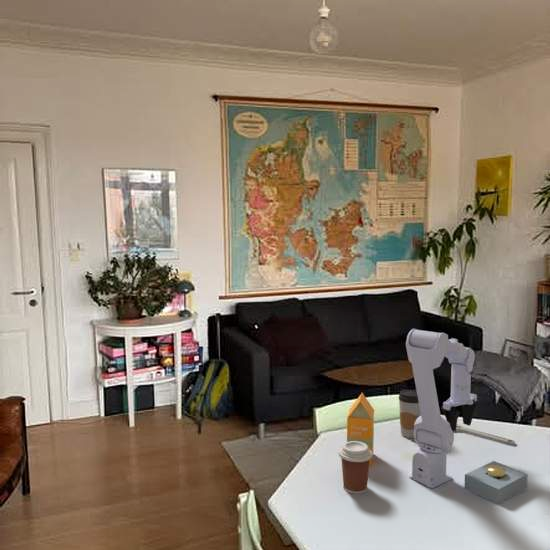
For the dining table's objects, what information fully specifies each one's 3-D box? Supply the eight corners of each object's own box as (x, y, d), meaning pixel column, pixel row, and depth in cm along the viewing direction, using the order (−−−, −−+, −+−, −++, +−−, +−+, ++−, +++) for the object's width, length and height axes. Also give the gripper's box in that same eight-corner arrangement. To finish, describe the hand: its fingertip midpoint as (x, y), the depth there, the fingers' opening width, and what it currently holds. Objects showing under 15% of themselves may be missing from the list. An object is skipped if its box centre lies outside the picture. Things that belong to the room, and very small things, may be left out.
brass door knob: (497, 494, 140) (498, 474, 139) (482, 486, 144) (482, 467, 143) (508, 489, 142) (509, 470, 142) (492, 482, 146) (493, 463, 146)
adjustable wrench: (516, 445, 172) (516, 440, 172) (508, 451, 167) (508, 446, 167) (446, 424, 190) (446, 419, 190) (437, 429, 186) (437, 424, 185)
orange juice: (346, 463, 158) (346, 400, 156) (349, 451, 166) (349, 391, 165) (372, 466, 156) (373, 402, 154) (374, 454, 165) (374, 392, 163)
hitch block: (498, 504, 135) (498, 489, 134) (464, 488, 143) (464, 474, 142) (526, 488, 143) (527, 474, 142) (493, 474, 151) (493, 460, 150)
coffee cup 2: (425, 433, 181) (426, 391, 179) (418, 441, 174) (419, 398, 172) (402, 428, 185) (403, 387, 184) (394, 436, 178) (395, 394, 177)
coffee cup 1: (377, 485, 145) (377, 444, 144) (363, 499, 137) (363, 456, 136) (347, 476, 150) (347, 436, 149) (332, 490, 142) (332, 448, 141)
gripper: (457, 392, 153) (456, 437, 154) (486, 383, 161) (484, 425, 163) (437, 386, 159) (436, 429, 160) (466, 378, 167) (464, 419, 168)
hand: (459, 427), depth 162 cm, fingers open, 7 cm apart
